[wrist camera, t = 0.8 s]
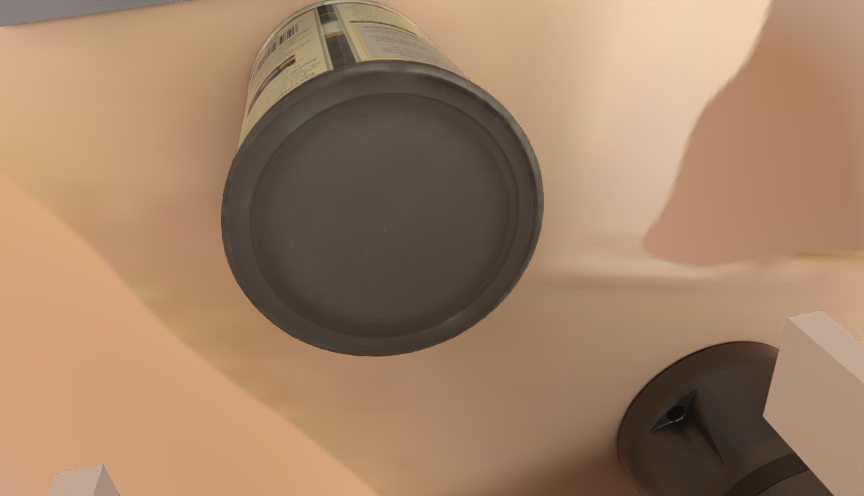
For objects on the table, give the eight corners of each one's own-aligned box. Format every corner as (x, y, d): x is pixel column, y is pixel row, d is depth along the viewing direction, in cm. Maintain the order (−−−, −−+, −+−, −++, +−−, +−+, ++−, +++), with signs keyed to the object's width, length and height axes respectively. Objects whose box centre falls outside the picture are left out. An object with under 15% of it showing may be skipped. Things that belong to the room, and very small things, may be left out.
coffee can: (415, 215, 36) (479, 377, 24) (228, 171, 33) (191, 333, 21) (480, 35, 32) (597, 120, 20) (274, -37, 28) (262, 13, 16)
